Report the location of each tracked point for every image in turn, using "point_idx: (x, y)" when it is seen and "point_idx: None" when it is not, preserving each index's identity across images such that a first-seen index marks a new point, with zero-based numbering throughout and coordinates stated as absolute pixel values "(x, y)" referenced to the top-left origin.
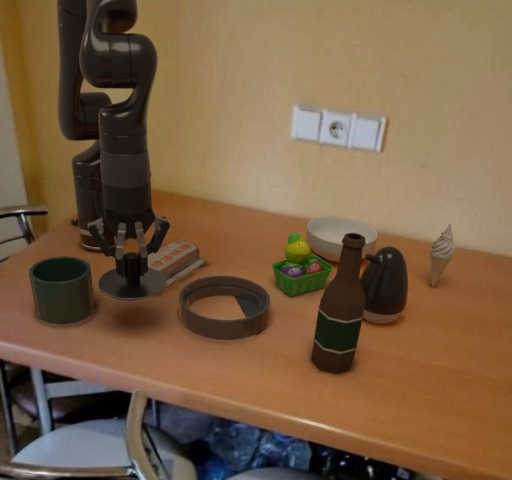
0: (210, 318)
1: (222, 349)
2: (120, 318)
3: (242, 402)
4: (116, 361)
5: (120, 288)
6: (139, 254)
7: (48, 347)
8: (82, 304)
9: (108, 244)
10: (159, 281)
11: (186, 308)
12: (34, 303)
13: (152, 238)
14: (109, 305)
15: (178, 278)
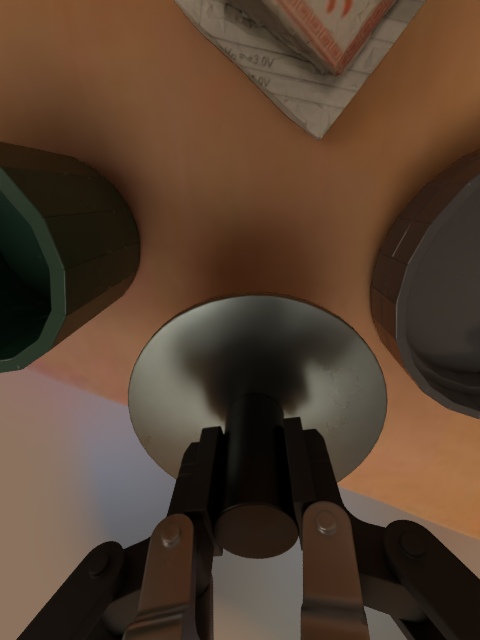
0: (461, 406)
1: None
2: (213, 276)
3: (426, 519)
4: None
5: None
6: (301, 519)
7: (83, 379)
8: (103, 308)
9: (106, 608)
10: (357, 419)
11: (406, 359)
12: None
13: (439, 626)
14: (173, 205)
15: (421, 4)
